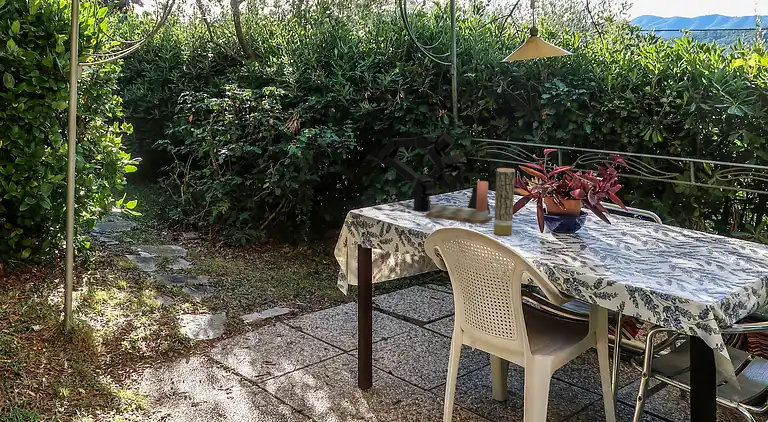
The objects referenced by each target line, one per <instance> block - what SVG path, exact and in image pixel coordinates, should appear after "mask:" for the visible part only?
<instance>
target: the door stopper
mask: <svg viewBox="0 0 768 422" xmlns="http://www.w3.org/2000/svg"><path fill="white" fill-rule="evenodd" d="M476 206H477V186H473V187H472V189H471V196H470V199H469V201H468V205H467V207H466V208H470V209H476ZM487 210H488V211H489V213H488V215H489V214H491V210H490V205H489V200H488V199H487Z"/></svg>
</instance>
